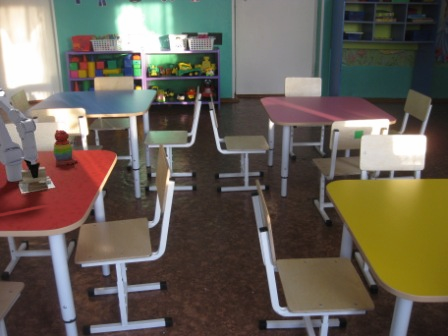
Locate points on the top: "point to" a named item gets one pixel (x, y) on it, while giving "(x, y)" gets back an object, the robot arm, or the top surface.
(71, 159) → the stacking bear
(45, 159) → the top surface
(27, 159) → the robot arm
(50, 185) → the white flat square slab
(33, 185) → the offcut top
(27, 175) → the birch sheet
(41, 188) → the offcut bottom
